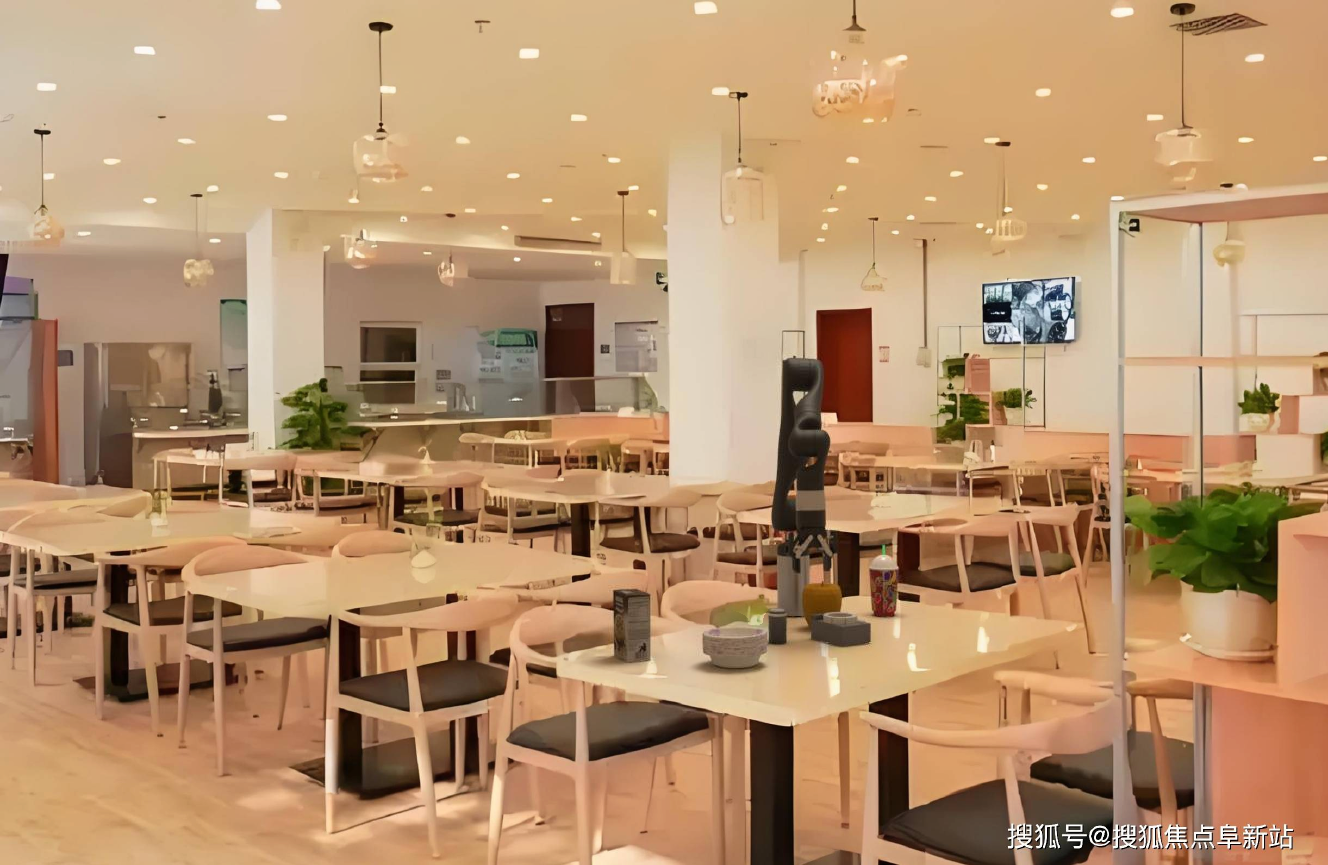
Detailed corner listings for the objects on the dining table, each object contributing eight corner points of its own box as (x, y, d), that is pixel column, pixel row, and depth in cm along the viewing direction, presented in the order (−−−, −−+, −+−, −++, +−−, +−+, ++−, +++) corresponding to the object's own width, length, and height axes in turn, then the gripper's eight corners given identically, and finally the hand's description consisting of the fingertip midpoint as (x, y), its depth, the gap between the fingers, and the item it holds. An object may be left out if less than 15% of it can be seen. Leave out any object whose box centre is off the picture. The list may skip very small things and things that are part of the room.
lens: (765, 641, 324) (765, 608, 324) (782, 640, 325) (782, 607, 325) (772, 644, 320) (772, 611, 319) (789, 643, 321) (789, 610, 321)
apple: (823, 634, 333) (822, 585, 333) (793, 628, 341) (792, 581, 341) (850, 628, 340) (850, 581, 340) (820, 623, 349) (820, 577, 348)
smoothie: (901, 617, 357) (900, 546, 356) (871, 617, 357) (871, 547, 356) (896, 612, 365) (895, 543, 365) (867, 612, 365) (866, 543, 365)
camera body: (810, 638, 327) (810, 613, 327) (838, 634, 332) (838, 609, 332) (842, 646, 316) (842, 620, 316) (870, 642, 321) (870, 617, 320)
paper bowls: (702, 658, 304) (702, 625, 304) (766, 658, 304) (765, 625, 303) (702, 672, 289) (702, 637, 289) (769, 671, 288) (769, 637, 288)
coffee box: (612, 655, 308) (612, 589, 307) (637, 653, 310) (636, 587, 310) (626, 662, 299) (625, 594, 299) (651, 660, 302) (651, 592, 302)
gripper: (827, 506, 328) (828, 569, 328) (778, 508, 323) (780, 572, 323) (842, 507, 321) (844, 571, 321) (793, 509, 316) (794, 575, 316)
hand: (812, 572), depth 322 cm, fingers open, 8 cm apart
